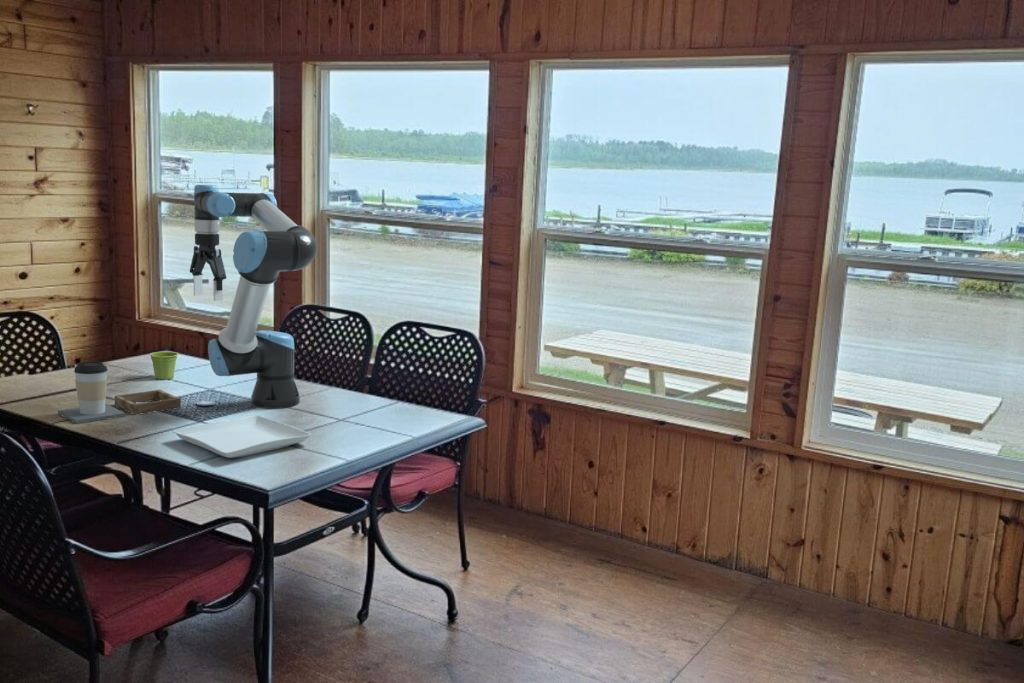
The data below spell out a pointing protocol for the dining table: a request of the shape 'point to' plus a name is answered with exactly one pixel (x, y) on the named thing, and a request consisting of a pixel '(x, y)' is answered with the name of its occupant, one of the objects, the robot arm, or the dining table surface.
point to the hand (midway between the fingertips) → (208, 297)
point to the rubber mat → (77, 417)
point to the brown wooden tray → (130, 402)
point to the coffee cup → (91, 387)
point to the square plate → (243, 436)
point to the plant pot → (164, 364)
